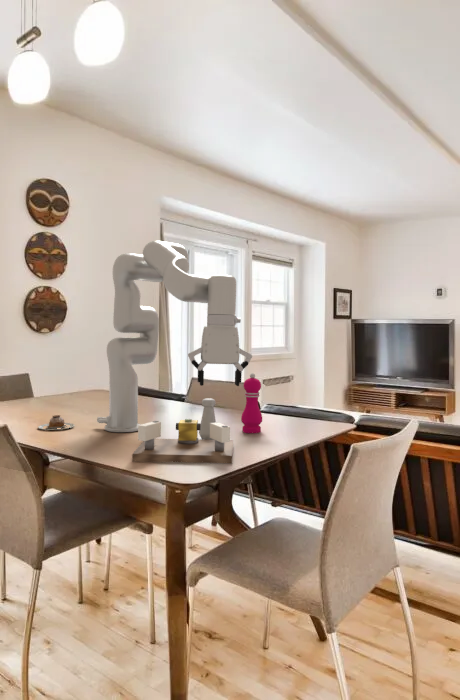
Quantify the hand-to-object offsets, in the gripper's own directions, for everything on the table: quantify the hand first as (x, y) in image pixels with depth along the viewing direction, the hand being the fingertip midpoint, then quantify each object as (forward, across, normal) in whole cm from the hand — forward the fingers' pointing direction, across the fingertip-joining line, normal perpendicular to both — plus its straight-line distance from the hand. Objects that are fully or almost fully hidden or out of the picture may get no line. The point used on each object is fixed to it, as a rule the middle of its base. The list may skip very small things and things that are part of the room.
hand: (219, 385), depth 135 cm
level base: (+20, +8, -5) cm, 22 cm away
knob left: (+18, +18, -3) cm, 26 cm away
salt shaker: (+20, 0, -22) cm, 30 cm away
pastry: (+22, +50, -45) cm, 71 cm away
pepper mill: (+20, -16, -33) cm, 42 cm away
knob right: (+18, 0, +1) cm, 18 cm away
